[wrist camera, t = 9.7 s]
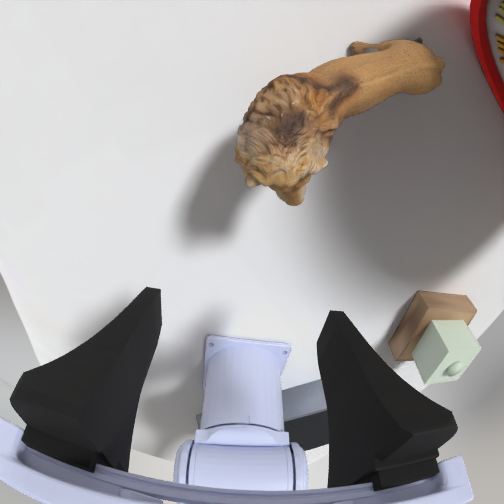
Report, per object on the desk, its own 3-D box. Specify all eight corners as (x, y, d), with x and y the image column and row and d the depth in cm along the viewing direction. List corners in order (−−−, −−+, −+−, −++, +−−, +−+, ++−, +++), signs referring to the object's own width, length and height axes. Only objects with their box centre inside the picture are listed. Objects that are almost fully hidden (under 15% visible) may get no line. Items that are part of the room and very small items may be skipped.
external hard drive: (192, 410, 36) (188, 436, 33) (333, 368, 31) (340, 398, 28) (242, 444, 42) (242, 465, 38) (360, 411, 37) (366, 435, 33)
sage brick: (443, 351, 26) (459, 383, 22) (411, 353, 26) (426, 388, 22) (463, 320, 24) (483, 352, 20) (431, 320, 24) (451, 355, 20)
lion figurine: (272, 178, 20) (283, 242, 12) (221, 117, 18) (195, 141, 10) (434, 69, 16) (523, 78, 8) (394, 6, 13) (472, -23, 6)
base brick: (436, 343, 29) (444, 359, 27) (388, 343, 29) (395, 361, 26) (466, 295, 26) (477, 310, 23) (417, 290, 25) (428, 307, 23)
